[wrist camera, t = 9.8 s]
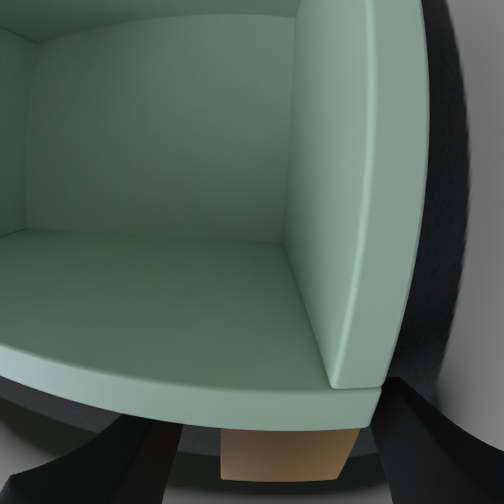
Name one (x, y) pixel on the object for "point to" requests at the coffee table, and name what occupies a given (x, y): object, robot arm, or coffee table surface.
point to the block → (284, 454)
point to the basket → (210, 204)
